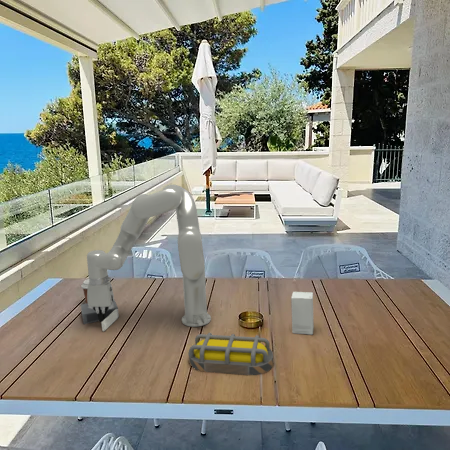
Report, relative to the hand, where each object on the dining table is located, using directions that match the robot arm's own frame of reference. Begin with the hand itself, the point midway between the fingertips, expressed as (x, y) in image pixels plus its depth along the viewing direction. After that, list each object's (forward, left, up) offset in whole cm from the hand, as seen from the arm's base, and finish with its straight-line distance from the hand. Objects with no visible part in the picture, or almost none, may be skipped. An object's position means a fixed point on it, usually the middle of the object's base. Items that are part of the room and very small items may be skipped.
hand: (102, 320), depth 169 cm
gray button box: (+13, 0, -3) cm, 13 cm away
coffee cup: (+28, +1, -3) cm, 28 cm away
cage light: (-49, -38, -4) cm, 62 cm away
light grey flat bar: (+1, -4, -3) cm, 5 cm away
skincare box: (-42, -73, -3) cm, 84 cm away
